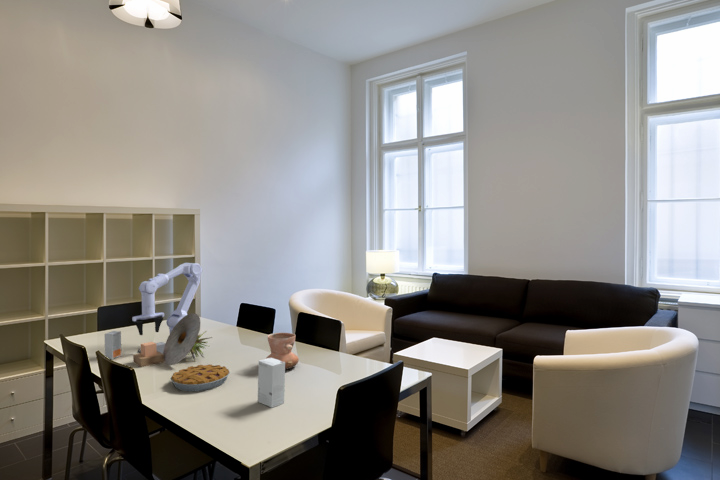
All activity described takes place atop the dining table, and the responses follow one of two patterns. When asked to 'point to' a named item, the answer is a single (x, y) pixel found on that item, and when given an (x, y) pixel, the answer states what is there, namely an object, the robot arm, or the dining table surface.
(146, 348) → the terracotta cube
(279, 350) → the ceramic jug
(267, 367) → the skincare box
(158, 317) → the robot arm
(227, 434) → the dining table surface
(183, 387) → the pie
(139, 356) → the walnut block
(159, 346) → the slate grey cube
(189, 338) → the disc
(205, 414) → the dining table surface
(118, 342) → the skincare box
